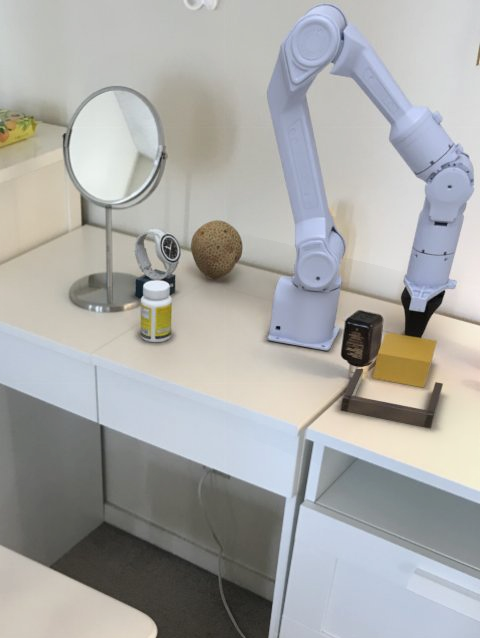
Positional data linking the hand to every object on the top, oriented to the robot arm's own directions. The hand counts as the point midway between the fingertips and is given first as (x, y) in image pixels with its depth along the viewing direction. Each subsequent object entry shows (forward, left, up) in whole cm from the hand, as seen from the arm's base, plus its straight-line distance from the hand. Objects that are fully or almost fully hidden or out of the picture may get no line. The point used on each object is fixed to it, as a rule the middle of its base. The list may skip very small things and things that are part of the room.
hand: (412, 337), depth 121 cm
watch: (-43, +4, -2) cm, 43 cm away
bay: (0, -17, -2) cm, 17 cm away
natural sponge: (-36, +15, -2) cm, 39 cm away
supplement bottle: (-37, -11, -2) cm, 39 cm away
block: (0, -8, -2) cm, 8 cm away
